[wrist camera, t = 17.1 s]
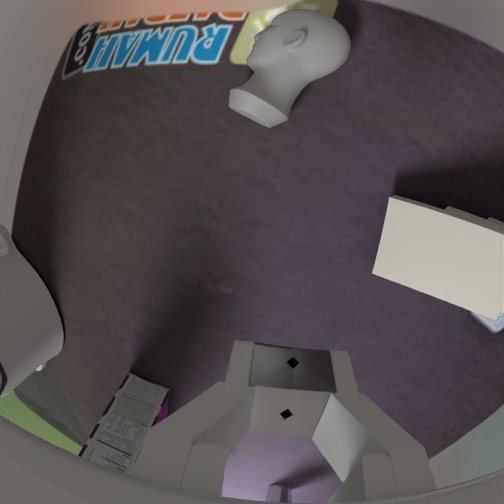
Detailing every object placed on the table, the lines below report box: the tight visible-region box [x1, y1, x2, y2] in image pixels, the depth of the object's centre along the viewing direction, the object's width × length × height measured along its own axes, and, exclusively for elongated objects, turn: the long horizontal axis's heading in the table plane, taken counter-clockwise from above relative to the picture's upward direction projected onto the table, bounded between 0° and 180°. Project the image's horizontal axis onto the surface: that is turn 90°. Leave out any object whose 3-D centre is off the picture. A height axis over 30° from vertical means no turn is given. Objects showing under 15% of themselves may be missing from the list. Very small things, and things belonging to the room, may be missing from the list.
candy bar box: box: [78, 373, 170, 475], centre depth 22 cm, size 11×5×16 cm, turn 165°
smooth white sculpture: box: [229, 9, 351, 128], centre depth 15 cm, size 4×8×5 cm
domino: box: [372, 195, 504, 320], centre depth 16 cm, size 2×5×9 cm
